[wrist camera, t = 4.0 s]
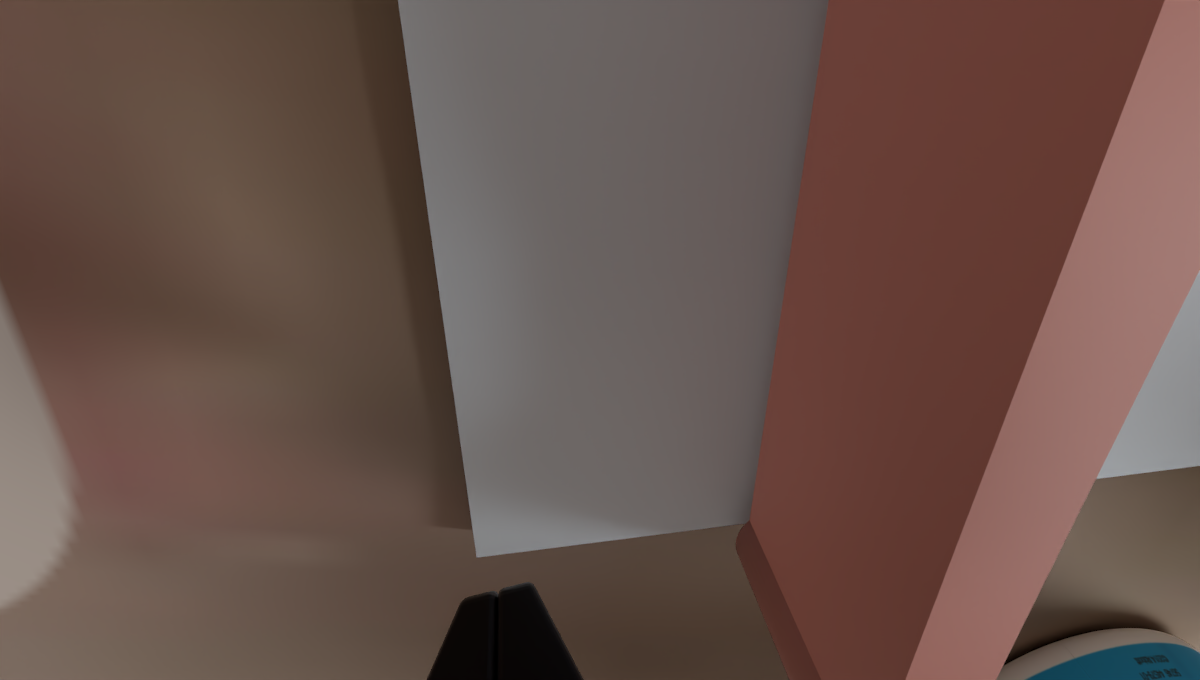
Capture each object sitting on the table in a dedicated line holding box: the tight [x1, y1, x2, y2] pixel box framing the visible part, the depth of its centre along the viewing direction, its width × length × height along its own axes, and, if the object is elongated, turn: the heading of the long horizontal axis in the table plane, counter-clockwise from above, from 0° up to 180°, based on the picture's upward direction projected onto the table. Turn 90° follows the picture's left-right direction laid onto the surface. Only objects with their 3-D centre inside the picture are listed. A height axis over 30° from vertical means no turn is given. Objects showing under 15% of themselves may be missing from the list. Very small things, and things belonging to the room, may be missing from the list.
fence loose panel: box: [736, 0, 1200, 680], centre depth 8 cm, size 11×2×5 cm, turn 0°
